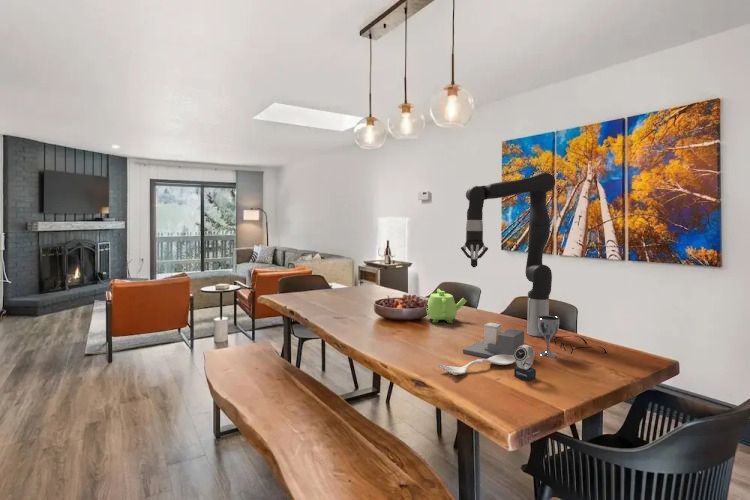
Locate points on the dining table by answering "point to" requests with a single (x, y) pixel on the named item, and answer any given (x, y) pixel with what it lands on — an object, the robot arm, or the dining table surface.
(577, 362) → the dining table surface
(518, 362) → the watch
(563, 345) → the eyeglasses
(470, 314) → the dining table surface
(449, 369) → the spoon
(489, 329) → the white rectangular block
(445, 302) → the teapot
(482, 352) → the grey block model
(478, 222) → the robot arm
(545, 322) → the wine glass
